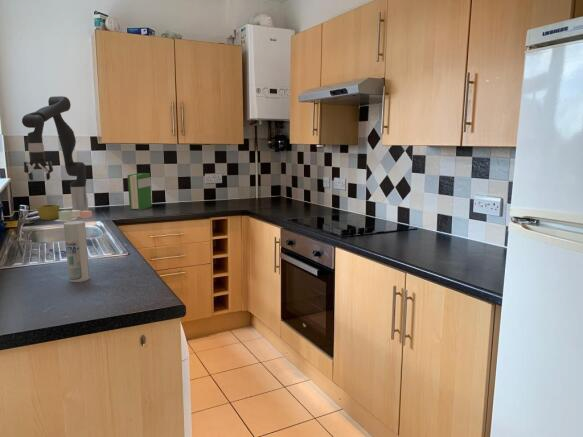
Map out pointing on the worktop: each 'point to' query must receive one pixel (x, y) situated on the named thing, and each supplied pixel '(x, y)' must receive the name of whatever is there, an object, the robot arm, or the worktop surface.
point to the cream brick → (75, 213)
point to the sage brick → (65, 215)
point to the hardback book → (139, 191)
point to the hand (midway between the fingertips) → (39, 180)
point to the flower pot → (48, 212)
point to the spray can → (76, 251)
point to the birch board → (66, 220)
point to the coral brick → (85, 214)
